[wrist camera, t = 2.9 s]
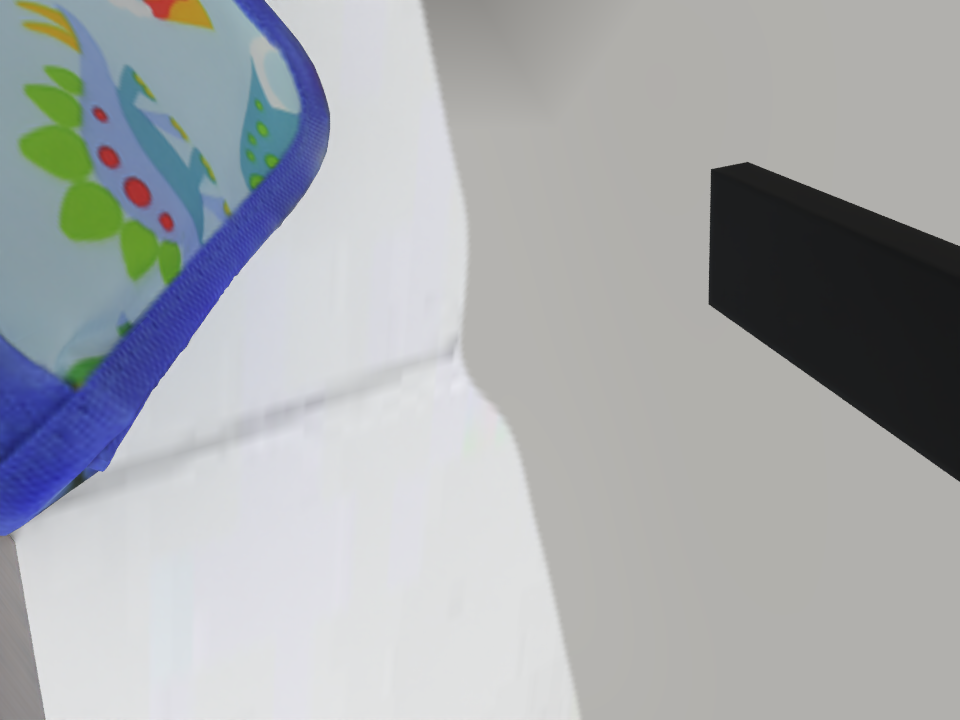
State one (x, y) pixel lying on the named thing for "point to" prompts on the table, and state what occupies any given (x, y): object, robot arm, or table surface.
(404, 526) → the table surface
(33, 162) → the lunch bag
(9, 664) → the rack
